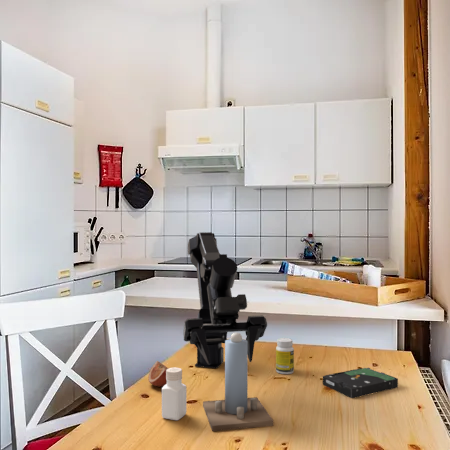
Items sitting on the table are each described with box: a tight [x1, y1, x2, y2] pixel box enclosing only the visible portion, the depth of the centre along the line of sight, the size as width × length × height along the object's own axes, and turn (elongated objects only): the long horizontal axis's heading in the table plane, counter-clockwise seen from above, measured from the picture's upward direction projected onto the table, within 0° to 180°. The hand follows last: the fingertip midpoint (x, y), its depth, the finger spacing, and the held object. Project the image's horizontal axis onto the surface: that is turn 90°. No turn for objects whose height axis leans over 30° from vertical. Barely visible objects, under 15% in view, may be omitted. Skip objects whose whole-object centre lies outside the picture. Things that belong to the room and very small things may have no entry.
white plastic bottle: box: [161, 366, 187, 421], centre depth 93 cm, size 4×4×10 cm
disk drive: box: [322, 367, 399, 399], centre depth 110 cm, size 10×3×15 cm
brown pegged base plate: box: [202, 396, 274, 432], centre depth 93 cm, size 12×12×3 cm
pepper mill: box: [224, 331, 249, 415], centre depth 94 cm, size 5×5×16 cm
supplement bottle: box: [275, 337, 295, 375], centre depth 121 cm, size 5×5×8 cm
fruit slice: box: [147, 360, 170, 387], centre depth 111 cm, size 8×7×5 cm
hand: (230, 362), depth 99 cm, fingers open, 9 cm apart
